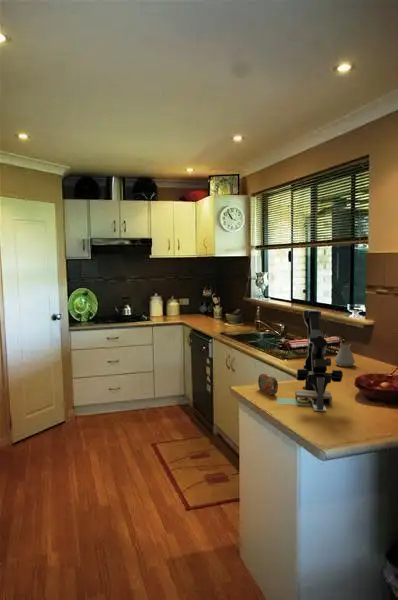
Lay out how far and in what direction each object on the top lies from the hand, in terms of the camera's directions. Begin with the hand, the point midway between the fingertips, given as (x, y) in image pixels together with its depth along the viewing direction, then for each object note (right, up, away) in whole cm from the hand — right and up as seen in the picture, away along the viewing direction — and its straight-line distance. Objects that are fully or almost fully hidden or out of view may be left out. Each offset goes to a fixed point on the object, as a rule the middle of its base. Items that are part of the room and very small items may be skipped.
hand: (320, 393), depth 192 cm
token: (-4, -7, +14) cm, 16 cm away
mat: (-8, -7, +14) cm, 18 cm away
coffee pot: (+37, 0, +89) cm, 96 cm away
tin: (-18, -6, +29) cm, 34 cm away
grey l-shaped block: (+1, -7, +8) cm, 11 cm away
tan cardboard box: (0, -7, +14) cm, 16 cm away
